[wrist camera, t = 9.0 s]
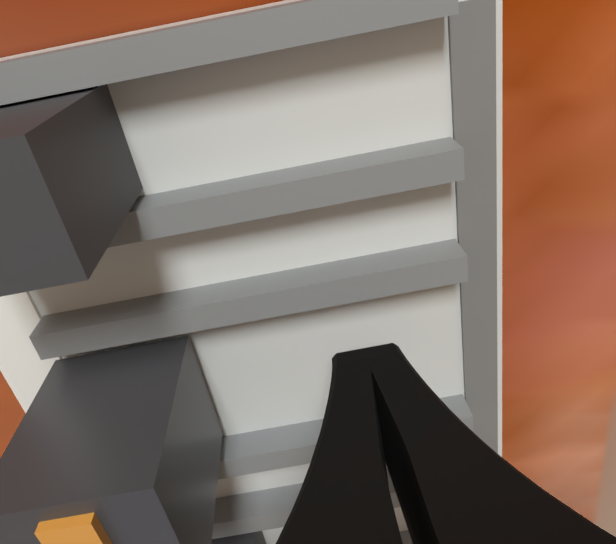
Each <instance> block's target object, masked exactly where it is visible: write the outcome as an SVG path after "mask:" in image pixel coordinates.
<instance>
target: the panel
mask: <svg viewBox="0 0 616 544" xmlns="http://www.w3.org/2000/svg"><path fill="white" fill-rule="evenodd" d="M185 336H188V337H189V340H190V343H191V346H192V348H193V351H194V354H195V357H196V360H197V363H198V365H199V368H200V371H201V374H202V377H203V379H204V382H205V385H206V388H207V391H208V394H209V396H210V399H211V402H212V405H213V408H214V411H215V413H216V416H217V419H218V422H219V425H220V427H221V430H222V433H223V434H222V444H221V454H220V463H219V473H218V483H217V493H216V503H215V512H214V522H213V532H212V542H211V544H276V542H277V540H278V538H279V536H280V534H281V532H282V530H283V528H284V525H285V523H286V521H287V519H288V517H289V515H290V513H291V511H292V508H293V506H294V504H295V501H296V499H297V497H298V494H299V492H300V489H301V487H302V484H303V482H304V479H305V476H306V474H307V471H308V468H309V465H310V463H311V459H312V456H313V453H314V450H315V447H316V444H317V440H318V437H319V434H320V431H321V427H322V423H323V419H324V414H325V410H326V406H327V402H328V396H329V390H330V384H331V376H332V358H333V356H334V355H335V354H336V353H340V352H346V351H351V350H356V349H362V348H367V347H373V346H378V345H383V344H389V343H394V344H396V345H397V346H399V348H400V349H401V351H402V353H403V354H404V355H405V357H406V358H407V360H408V361H409V362H410V364H411V365H412V366H413V368H414V369H415V370H416V372H417V373H418V374H419V375H420V376H421V378H422V379H423V380H424V381H425V382H426V384H427V385H428V386H429V387H430V388H431V389H432V390H433V392H434V393H435V394H436V395H437V396H438V397H439V398H440V399H441V400H442V401H443V402H444V403H445V404H446V406H447V407H448V408H449V409H450V410H451V411H452V412H453V413H454V414H455V415H456V416H457V417H458V418H459V419H460V420H461V421H462V422H463V423H464V424H465V425H466V426H467V427H468V428H469V429H471V430H472V431H473V432H474V433H475V434H476V435H477V436H478V437H479V438H480V439H481V440H482V441H483V442H485V443H486V444H487V445H488V446H489V447H490V448H491V449H493V450H494V451H495V452H496V453H497V454H498V455H500V456H501V457H502V0H285V1H280V2H275V3H270V4H265V5H260V6H255V7H250V8H245V9H240V10H235V11H230V12H225V13H220V14H215V15H211V16H206V17H201V18H196V19H191V20H186V21H181V22H176V23H171V24H166V25H161V26H156V27H151V28H146V29H141V30H136V31H131V32H127V33H122V34H117V35H112V36H107V37H102V38H97V39H92V40H87V41H82V42H77V43H72V44H67V45H62V46H57V47H52V48H47V49H43V50H38V51H33V52H28V53H23V54H18V55H13V56H8V57H3V58H0V371H1V372H2V374H3V376H4V377H5V379H6V381H7V383H8V384H9V386H10V388H11V389H12V391H13V393H14V394H15V396H16V398H17V400H18V401H19V403H20V405H21V406H22V408H23V410H24V411H25V413H26V412H27V410H28V409H29V407H30V405H31V403H32V401H33V400H34V398H35V396H36V394H37V392H38V391H39V389H40V387H41V385H42V384H43V382H44V380H45V378H46V376H47V375H48V373H49V371H50V369H51V367H52V366H53V364H54V362H55V360H60V359H65V358H71V357H76V356H82V355H87V354H93V353H98V352H103V351H109V350H114V349H120V348H125V347H131V346H136V345H141V344H147V343H152V342H158V341H163V340H169V339H174V338H179V337H185ZM386 468H387V465H386ZM387 476H388V484H389V491H390V495H391V499H392V503H393V507H394V511H395V515H396V519H397V523H398V527H399V531H400V535H401V539H402V543H403V544H413V543H412V540H411V537H410V534H409V531H408V528H407V525H406V522H405V519H404V516H403V513H402V510H401V507H400V504H399V501H398V498H397V495H396V492H395V489H394V486H393V483H392V480H391V477H390V474H389V471H388V468H387Z"/></svg>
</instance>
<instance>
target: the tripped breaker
mask: <svg viewBox="0 0 616 544" xmlns="http://www.w3.org/2000/svg"><path fill="white" fill-rule="evenodd" d="M222 434H223V433H222V430H221V427H220V425H219V422H218V419H217V416H216V413H215V411H214V408H213V405H212V402H211V399H210V396H209V394H208V391H207V388H206V385H205V382H204V379H203V377H202V374H201V371H200V368H199V365H198V363H197V360H196V357H195V354H194V351H193V348H192V346H191V343H190V340H189V337H188V336H185V337H179V338H174V339H169V340H163V341H158V342H152V343H147V344H141V345H136V346H131V347H125V348H120V349H114V350H109V351H103V352H98V353H93V354H87V355H82V356H76V357H71V358H65V359H60V360H55V362H54V364H53V366H52V367H51V369H50V371H49V373H48V375H47V376H46V378H45V380H44V382H43V384H42V385H41V387H40V389H39V391H38V392H37V394H36V396H35V398H34V400H33V401H32V403H31V405H30V407H29V409H28V410H27V412H26V414H25V416H24V418H23V419H22V421H21V423H20V425H19V427H18V428H17V430H16V432H15V434H14V436H13V437H12V439H11V441H10V443H9V444H8V446H7V448H6V450H5V452H4V453H3V455H2V457H1V459H0V544H211V542H212V532H213V522H214V512H215V503H216V493H217V483H218V473H219V463H220V454H221V444H222Z"/></svg>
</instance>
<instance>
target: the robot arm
mask: <svg viewBox="0 0 616 544" xmlns="http://www.w3.org/2000/svg"><path fill="white" fill-rule="evenodd" d="M386 465H387V468H388V471H389V474H390V477H391V480H392V483H393V486H394V489H395V492H396V495H397V498H398V501H399V504H400V507H401V510H402V513H403V516H404V519H405V522H406V525H407V528H408V531H409V534H410V537H411V540H412V543H413V544H616V537H614V536H613V535H611V534H609V533H608V532H606V531H604V530H603V529H601V528H600V527H598V526H596V525H595V524H593V523H592V522H590V521H589V520H587V519H586V518H584V517H583V516H581V515H580V514H578V513H577V512H576V511H574V510H573V509H571V508H570V507H568V506H567V505H565V504H564V503H562V502H561V501H559V500H558V499H556V498H555V497H553V496H552V495H550V494H549V493H547V492H546V491H545V490H543V489H542V488H540V487H539V486H538V485H536V484H535V483H534V482H533V481H531V480H530V479H529V478H527V477H526V476H525V475H523V474H522V473H521V472H519V471H518V470H517V469H516V468H514V467H513V466H512V465H511V464H509V463H508V462H507V461H506V460H504V459H503V458H502V457H501V456H500V455H498V454H497V453H496V452H495V451H494V450H493V449H491V448H490V447H489V446H488V445H487V444H486V443H485V442H483V441H482V440H481V439H480V438H479V437H478V436H477V435H476V434H475V433H474V432H473V431H472V430H471V429H469V428H468V427H467V426H466V425H465V424H464V423H463V422H462V421H461V420H460V419H459V418H458V417H457V416H456V415H455V414H454V413H453V412H452V411H451V410H450V409H449V408H448V407H447V406H446V404H445V403H444V402H443V401H442V400H441V399H440V398H439V397H438V396H437V395H436V394H435V393H434V392H433V390H432V389H431V388H430V387H429V386H428V385H427V384H426V382H425V381H424V380H423V379H422V378H421V376H420V375H419V374H418V373H417V372H416V370H415V369H414V368H413V366H412V365H411V364H410V362H409V361H408V360H407V358H406V357H405V355H404V354H403V353H402V351H401V349H400V348H399V346H397V345H396V344H394V343H389V344H383V345H378V346H373V347H367V348H362V349H356V350H351V351H346V352H340V353H336V354H335V355H334V356H333V358H332V376H331V384H330V390H329V396H328V402H327V406H326V410H325V414H324V419H323V423H322V427H321V431H320V434H319V437H318V440H317V444H316V447H315V450H314V453H313V456H312V459H311V463H310V465H309V468H308V471H307V474H306V476H305V479H304V482H303V484H302V487H301V489H300V492H299V494H298V497H297V499H296V501H295V504H294V506H293V508H292V511H291V513H290V515H289V517H288V519H287V521H286V523H285V525H284V528H283V530H282V532H281V534H280V536H279V538H278V540H277V542H276V544H403V543H402V539H401V535H400V531H399V527H398V523H397V519H396V515H395V511H394V507H393V503H392V499H391V495H390V491H389V484H388V476H387V468H386Z"/></svg>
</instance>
